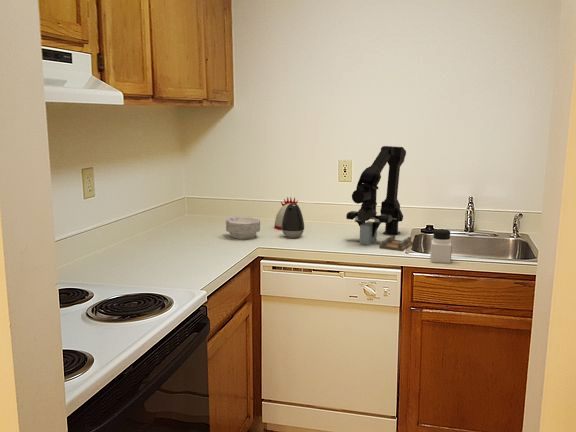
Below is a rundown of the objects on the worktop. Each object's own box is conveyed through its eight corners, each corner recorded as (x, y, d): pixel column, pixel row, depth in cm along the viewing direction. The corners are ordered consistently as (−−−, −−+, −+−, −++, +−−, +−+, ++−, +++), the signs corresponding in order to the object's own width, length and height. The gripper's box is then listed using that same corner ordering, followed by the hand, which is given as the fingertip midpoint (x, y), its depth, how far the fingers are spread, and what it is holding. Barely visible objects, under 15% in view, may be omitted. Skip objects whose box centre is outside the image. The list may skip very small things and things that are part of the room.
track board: (390, 241, 254) (390, 234, 253) (413, 244, 249) (413, 237, 248) (379, 248, 242) (379, 241, 241) (402, 251, 237) (403, 243, 236)
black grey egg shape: (277, 238, 259) (277, 204, 256) (286, 233, 269) (286, 200, 266) (299, 240, 255) (299, 205, 253) (307, 235, 265) (307, 202, 262)
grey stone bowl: (260, 240, 254) (260, 222, 253) (225, 240, 253) (225, 222, 252) (260, 233, 269) (260, 216, 268) (226, 233, 268) (226, 216, 267)
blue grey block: (368, 239, 258) (368, 221, 256) (376, 240, 256) (377, 222, 255) (359, 243, 249) (360, 225, 248) (368, 244, 247) (369, 225, 246)
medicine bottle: (450, 263, 218) (452, 231, 216) (431, 262, 220) (432, 231, 218) (449, 258, 225) (451, 228, 223) (430, 257, 227) (431, 227, 224)
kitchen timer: (303, 231, 275) (303, 199, 272) (274, 230, 275) (274, 199, 272) (303, 225, 289) (303, 194, 286) (275, 224, 289) (275, 194, 286)
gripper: (341, 201, 247) (340, 237, 250) (384, 205, 238) (382, 242, 241) (351, 198, 256) (350, 233, 259) (393, 201, 248) (391, 237, 251)
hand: (368, 236), depth 252 cm, fingers closed on blue grey block, 4 cm apart
